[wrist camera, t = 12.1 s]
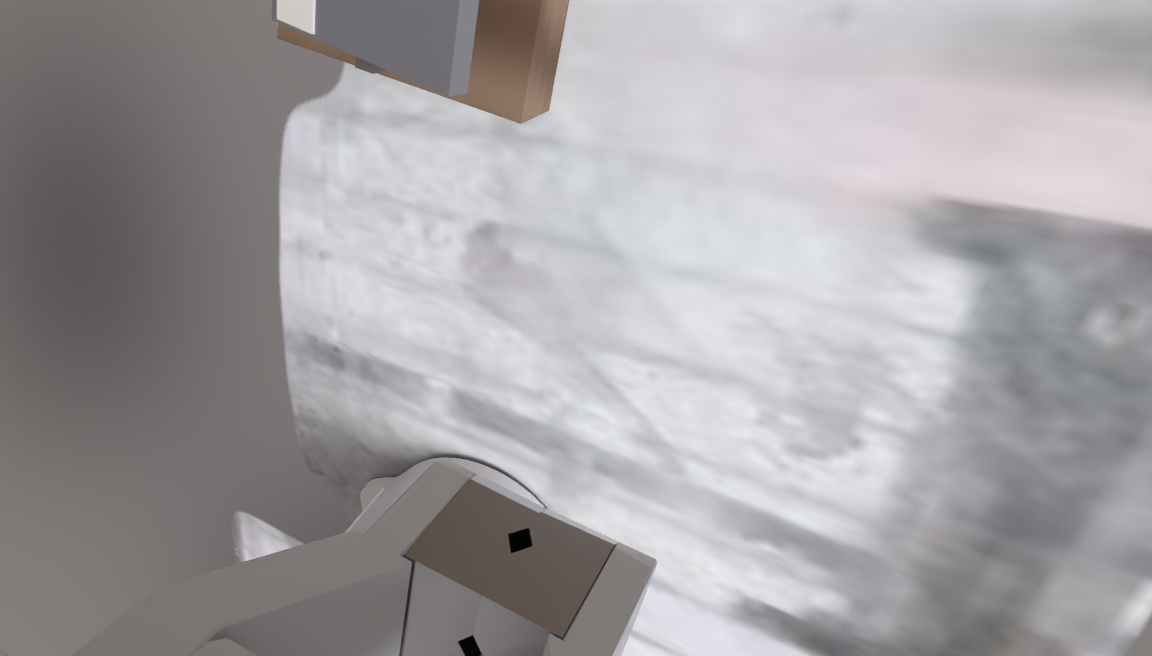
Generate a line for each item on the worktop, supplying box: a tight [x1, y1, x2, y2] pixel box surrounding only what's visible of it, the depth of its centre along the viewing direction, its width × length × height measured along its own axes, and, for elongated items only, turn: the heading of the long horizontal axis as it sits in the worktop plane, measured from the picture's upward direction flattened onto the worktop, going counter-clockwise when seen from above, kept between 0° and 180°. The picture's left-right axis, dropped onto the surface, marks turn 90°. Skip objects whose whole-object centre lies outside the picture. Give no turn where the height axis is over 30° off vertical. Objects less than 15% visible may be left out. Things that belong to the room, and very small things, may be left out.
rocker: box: [272, 0, 479, 97], centre depth 35 cm, size 4×11×1 cm, turn 78°
